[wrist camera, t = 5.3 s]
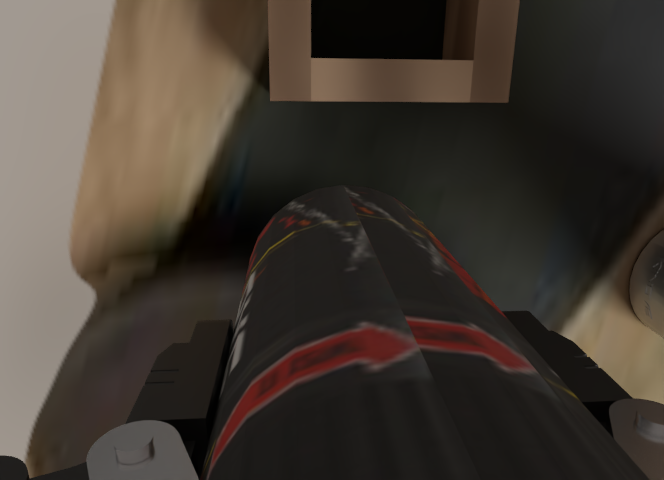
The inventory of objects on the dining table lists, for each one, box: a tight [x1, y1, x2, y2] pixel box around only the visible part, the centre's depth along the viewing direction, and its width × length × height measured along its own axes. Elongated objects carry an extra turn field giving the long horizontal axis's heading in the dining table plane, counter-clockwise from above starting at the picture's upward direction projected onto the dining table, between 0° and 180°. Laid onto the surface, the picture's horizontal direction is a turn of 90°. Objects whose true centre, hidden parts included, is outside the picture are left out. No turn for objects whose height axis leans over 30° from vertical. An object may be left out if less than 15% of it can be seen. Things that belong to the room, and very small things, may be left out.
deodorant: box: [200, 185, 650, 480], centre depth 9 cm, size 6×6×15 cm
